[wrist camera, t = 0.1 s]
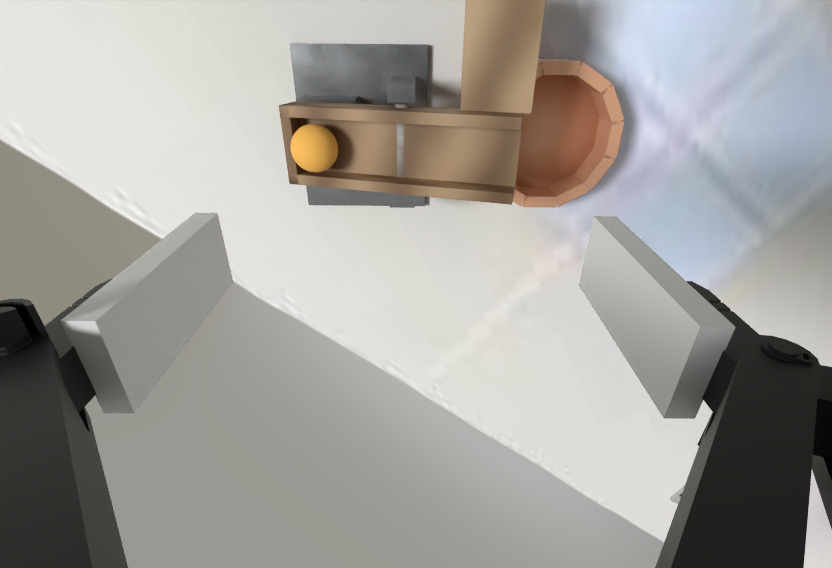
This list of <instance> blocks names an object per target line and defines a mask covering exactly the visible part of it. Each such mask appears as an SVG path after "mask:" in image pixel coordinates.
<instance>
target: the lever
mask: <svg viewBox="0 0 832 568" xmlns="http://www.w3.org/2000/svg"><path fill="white" fill-rule="evenodd" d="M545 3H546V0H466V8H465V27H464V46H463V65H462V84H461V103H460V109H453V108H432V107H410V106H408V104H407V103H396V104H395V106H388V105H366V104H345V103H323V102H301V101H295V102H291V103H287V104H283V105H279V110H280V117H281V124H282V131H283V139H284V146H285V153H286V161H287V168H288V175H289V182H290V184H298V185H309V186H320V187H330V188H341V189H352V190H362V191H373V192H384V193H395V194H405V195H416V196H427V197H437V198H448V199H459V200H469V201H480V202H491V203H501V204H512V202H513V198H514V194H515V185H516V177H517V169H518V160H519V152H520V144H521V135H522V127H523V119H524V113H530V114H531V112H532V105H533V97H534V89H535V81H536V73H537V66H538V58H539V50H540V42H541V34H542V27H543V19H544V11H545ZM307 124H319V125H322V126H324V127H326V128H327V129H329V130H330V131H331V132H332V134H333V135H334V136H335V138H336V141H337V144H338V155H337V159H336V161H335V162H334V164H333V165H332V166H331V167H330V168H329V169H327V170H325V171H322V172H310V171H307V170H304V169H303V168H301V167H300V166H299V165H298V164H297V163H296V162H295V160H294V158H293V156H292V153H291V148H290V146H291V139H292V137H293V135H294V133H295V132H296V131H297V130H298V129H299V128H300V127H302V126H304V125H307Z"/></svg>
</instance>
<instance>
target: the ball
mask: <svg viewBox="0 0 832 568" xmlns="http://www.w3.org/2000/svg"><path fill="white" fill-rule="evenodd" d="M290 148H291V153H292V156H293V158H294V160H295V162H296V163H297V164H298V165H299V166H300V167H301V168H303V169H304V170H307V171H310V172H322V171H325V170H327V169H329V168H330V167H331V166H332V165H333V164H334V162H335V161H336V159H337V155H338V144H337V141H336V138H335V136H334V135H333V134H332V132H331V131H330V130H329V129H327V128H326V127H324V126H322V125H319V124H307V125H304V126H302V127H300V128H299V129H298V130H297V131H296V132H295V133H294V135H293V137H292V139H291V146H290Z"/></svg>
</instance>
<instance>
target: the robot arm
mask: <svg viewBox="0 0 832 568" xmlns="http://www.w3.org/2000/svg"><path fill="white" fill-rule="evenodd" d="M232 283H233V280H232V275H231V271H230V267H229V262H228V258H227V253H226V249H225V245H224V240H223V236H222V231H221V227H220V223H219V218H218V214H217V213H195V214H193V215H192V216H191V217H190V218H188V219H187V220H186V221H185V222H183V223H182V224H181V225H180V226H178V227H177V228H176V229H175V230H173V231H172V232H171V233H170V234H168V235H167V236H166V237H165V238H163V239H162V240H161V241H160V242H158V243H157V244H156V245H155V246H153V247H152V248H151V249H150V250H148V251H147V252H146V253H145V254H143V255H142V256H141V257H140V258H138V259H137V260H136V261H135V262H133V263H132V264H131V265H130V266H128V267H127V268H126V269H125V270H123V271H122V272H121V273H119V274H118V275H117V276H116V277H114V278H112V279H110V280H108V281H106V282H104V283H102V284H99V285H97V286H96V287H94V288H93V289H92V290H91V291H89V292H88V293H87V294H85V295H84V296H83V298H80V299H79V300H78V301H76V302H75V303H74V304H73V305H72V307H69V308H67V309H66V310H65V311H63V312H62V313H61V314H60V315H58V316H57V317H56V318H54V319H53V320H52V321H51V322H49V323H48V324H47V325H46V326H44V325H43V323H42V321H41V319H40V317H39V315H38V313H37V311H36V309H35V307H34V305H33V304H32V302H31V301H30V300H24V299H8V300H3V301H0V568H128V566H127V562H126V558H125V554H124V550H123V546H122V542H121V538H120V535H119V530H118V527H117V522H116V519H115V515H114V511H113V507H112V503H111V499H110V495H109V491H108V487H107V483H106V479H105V475H104V471H103V467H102V463H101V459H100V455H99V451H98V447H97V444H96V440H95V436H94V432H93V428H92V424H91V420H90V417H89V415H88V413H87V411H86V409H85V406H86V405H87V403H88V402H89V401H90V400H91V399H92V398H93V397H94V396H95V395H96V398H97V400H98V402H99V404H100V406H101V408H102V410H103V412H104V413H135V412H136V411H137V409H138V408H139V407H140V405H141V404H142V403H143V401H144V400H145V399H146V397H147V396H148V394H149V393H150V392H151V391H152V389H153V388H154V387H155V385H156V384H157V383H158V381H159V380H160V379H161V377H162V376H163V375H164V373H165V372H166V370H167V369H168V368H169V367H170V365H171V364H172V362H173V361H174V360H175V359H176V357H177V356H178V355H179V353H180V352H181V350H182V349H183V348H184V347H185V345H186V344H187V343H188V341H189V340H190V339H191V337H192V336H193V335H194V333H195V332H196V331H197V329H198V328H199V327H200V325H201V324H202V323H203V321H204V320H205V319H206V317H207V316H208V315H209V313H210V312H211V311H212V309H213V308H214V307H215V305H216V304H217V303H218V301H219V300H220V298H221V297H222V296H223V295H224V293H225V292H226V291H227V289H228V288H229V287H230V285H231V284H232ZM579 286H580V288H581V289H582V291H583V292H584V294H585V295H586V297H587V299H588V300H589V302H590V303H591V305H592V306H593V308H594V310H595V311H596V313H597V314H598V316H599V317H600V319H601V321H602V322H603V324H604V325H605V327H606V328H607V330H608V332H609V333H610V335H611V336H612V338H613V339H614V341H615V342H616V344H617V346H618V347H619V349H620V350H621V352H622V353H623V355H624V357H625V358H626V360H627V361H628V363H629V364H630V366H631V368H632V369H633V371H634V372H635V374H636V375H637V377H638V378H639V380H640V382H641V383H642V385H643V386H644V388H645V389H646V391H647V393H648V394H649V396H650V397H651V399H652V400H653V402H654V404H655V405H656V407H657V408H658V410H659V411H660V413H661V415H662V416H663V418H695V417H696V415H697V412H698V410H699V408H700V406H701V403H702V401H703V400H704V401H705V402H706V404H707V405H708V406H709V408H710V409H711V410H712V411H713V413H712V415H711V417H710V419H709V421H708V424H707V426H706V428H705V430H704V432H703V434H702V436H701V438H700V441H699V443H698V445H699V449H698V451H697V454H696V457H695V460H694V462H693V465H692V468H691V471H690V473H689V476H688V479H687V482H686V484H685V487H684V490H683V493H682V496H681V498H680V501H679V504H678V507H677V509H676V512H675V515H674V518H673V520H672V523H671V526H670V529H669V531H668V534H667V537H666V540H665V542H664V545H663V548H662V551H661V554H660V557H659V559H658V562H657V565H656V567H655V568H803V566H804V554H805V542H806V530H807V518H808V506H809V494H810V481H811V469H812V470H813V473H814V476H815V479H816V482H817V485H818V488H819V492H820V495H821V498H822V501H823V504H824V507H825V510H826V513H827V516H828V519H829V522H830V525H831V528H832V367H827V366H822V365H820V364H819V361H818V359H817V358H816V357H815V356H814V355H813V354H812V353H811V352H810V351H808V350H806V349H805V348H803V347H801V346H800V345H798V344H795V343H793V342H790V341H788V340H785V339H782V338H778V337H774V336H766V335H759V334H758V333H757V332H756V331H754V330H753V329H752V328H751V327H750V326H749V325H748V324H746V323H745V322H744V321H743V320H742V319H741V318H740V317H739V316H737V315H736V314H735V313H734V312H733V311H730V309H729V308H728V307H727V306H726V305H725V304H724V303H721V301H720V300H719V299H718V298H717V297H716V296H715V295H714V294H712V293H711V292H710V291H709V290H707V289H705V288H703V287H701V286H700V285H698V284H696V283H694V282H692V281H685V280H684V279H683V278H682V277H681V276H680V275H679V274H678V273H676V272H675V271H674V270H673V269H672V268H671V267H670V266H669V265H668V264H667V263H666V262H665V261H663V260H662V259H661V258H660V257H659V256H658V255H657V254H656V253H655V252H654V251H653V250H652V249H650V248H649V247H648V246H647V245H646V244H645V243H644V242H643V241H642V240H641V239H640V238H639V237H638V236H636V235H635V234H634V233H633V232H632V231H631V230H630V229H629V228H628V227H627V226H626V225H625V224H623V223H622V222H621V221H620V220H619V219H618V218H617V217H598V216H594V219H593V223H592V228H591V232H590V237H589V242H588V246H587V251H586V255H585V260H584V264H583V269H582V273H581V278H580V283H579Z"/></svg>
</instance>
